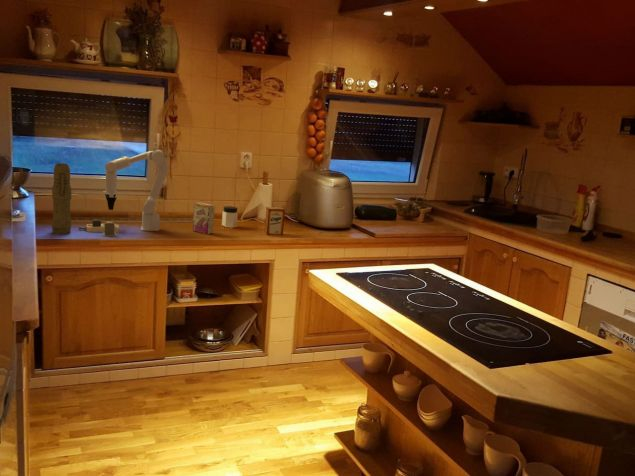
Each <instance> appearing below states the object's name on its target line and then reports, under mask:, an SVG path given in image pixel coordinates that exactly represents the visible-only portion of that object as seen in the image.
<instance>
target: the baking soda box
mask: <svg viewBox="0 0 635 476" xmlns="http://www.w3.org/2000/svg"><path fill="white" fill-rule="evenodd" d="M265 209H266V210H265V221H264V232H265V233H266V234H267V235H283V236H284V226H285V212H286V209H285V208H283V207H279V206H278V207H277V206H273V207H272V206H266V207H265ZM265 233H264V234H265ZM266 234H265V235H266ZM267 235H266V236H267Z"/></svg>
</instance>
